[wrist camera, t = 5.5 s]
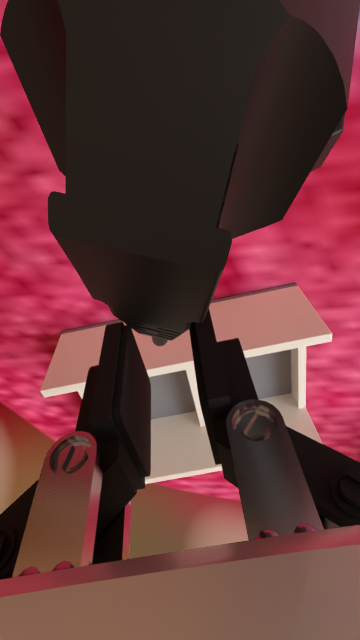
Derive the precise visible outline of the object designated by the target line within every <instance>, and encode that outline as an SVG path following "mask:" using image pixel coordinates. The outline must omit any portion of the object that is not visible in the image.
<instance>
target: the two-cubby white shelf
mask: <svg viewBox="0 0 360 640" xmlns="http://www.w3.org/2000/svg"><path fill="white" fill-rule="evenodd" d="M209 310H210V315H211V319H212V323H213V327H214V332H215V336H216V340H217V342H219V341H224V340H229V339H235V338H239V341H240V343H241V346H242V350H243V353H244V356H245V359H246V362H247V365H248V368H249V371H250V374H251V378H252V381H253V384H254V387H255V390H256V393H257V396H258V399H259V400H262V401H266V402H268V403H270V404H272V405H274V406H275V407H276V408H277V409H278V410H279V411H280V413H281V415H282V417H283V419H284V422H285V425H286V426H287V427H289V428H291V429H293V430H295V431H297V432H299V433H301V434H303V435H305V436H307V437H309V438H311V439H313V440H315V441H317V442H319V443H321V444H323V443H322V441H321V439H320V437H319V435H318V432H317V430H316V428H315V426H314V424H313V422H312V420H311V418H310V416H309V414H308V411H307V409H306V346H310V345H315V344H321V343H326V342H331V341H332V332H331V331H330V330H329V328H328V327H327V325H326V324H325V323H324V321H323V320H322V319H321V317H320V316H319V314H318V313H317V312H316V310H315V309H314V308H313V306H312V305H311V303H310V302H309V301H308V299H307V298H306V296H305V295H304V294H303V292H302V291H301V290H300V288H299V287H298V285H297V284H296V283H293V284H288V285H283V286H278V287H273V288H269V289H264V290H259V291H254V292H249V293H244V294H240V295H235V296H230V297H225V298H220V299H215V300H211V303H210V306H209ZM119 322H122V321H121V320H120V319H119V320H114V321H109V322H104V323H100V324H95V325H90V326H85V327H80V328H75V329H71V330H66V331H62V333H61V336H60V338H59V341H58V344H57V347H56V349H55V352H54V355H53V357H52V360H51V363H50V365H49V368H48V371H47V374H46V376H45V379H44V382H43V384H42V387H41V390H40V392H41V393H42V395H43V396H44V398H45V397H50V396H55V395H60V394H65V393H70V392H75V391H78V393H79V395H80V397H81V398H83V393H84V389H85V384H86V379H87V375H88V371H89V368H90V367H91V366H96V365H99V359H100V354H101V348H102V343H103V338H104V332H105V327H106V325H109V324H114V323H119ZM123 323H124V322H123ZM124 325H126V324H125V323H124ZM131 329H132V328H131ZM132 332H133V335H134V337H135V340H136V343H137V346H138V348H139V351H140V354H141V357H142V360H143V362H144V365H145V368H146V371H147V373H148V376H149V379H150V383H151V474H150V476H149V477H145V484H148V483H153V482H159V481H165V480H170V479H176V478H182V477H187V476H193V475H199V474H204V473H210V472H216V471H221V470H222V465H221V464H218V465H215V462H214V458H213V454H212V450H211V446H210V442H209V438H208V434H207V430H206V426H205V422H204V418H203V414H202V410H201V406H200V401H199V396H198V389H197V382H196V375H195V368H194V361H193V353H192V346H191V339H190V332H189V329H188V330H187V331H186V332H184V333H183V334H181V335H180V336H178V337H177V338H175V339H174V340H171V341H169V340H168V341H167V343H166V344H165V345H163V346H156V345H155V344H154V343H153V341H152V336H148V335H143V334H139V333H137V332H136V331H135V330H134V329H132Z"/></svg>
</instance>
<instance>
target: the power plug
mask: <svg viewBox="0 0 360 640" xmlns="http://www.w3.org/2000/svg"><path fill="white" fill-rule="evenodd" d="M359 6H360V0H8V2H7V5H6V8H5V12H4V16H3V20H2V25H1V33H0V36H1V38H2V40H3V43H4V45H5V47H6V49H7V52H8V54H9V56H10V59H11V61H12V63H13V65H14V68H15V70H16V72H17V75H18V77H19V79H20V81H21V84H22V86H23V88H24V91H25V93H26V95H27V98H28V100H29V102H30V104H31V107H32V109H33V111H34V114H35V116H36V118H37V120H38V123H39V125H40V127H41V130H42V132H43V134H44V136H45V139H46V141H47V143H48V146H49V148H50V150H51V153H52V155H53V157H54V159H55V162H56V164H57V166H58V169H59V171H60V172H62V173H63V174H64V175H65V176H66V194H64V193H59V192H51V193H50V195H49V197H48V224H49V228H50V231H51V232H52V234H53V235H54V237H55V238H56V240H57V242H58V243H59V245H60V246H61V248H62V249H63V251H64V252H65V254H66V255H67V257H68V258H69V260H70V261H71V263H72V265H73V266H74V268H75V269H76V271H77V273H78V274H79V276H80V278H81V279H82V281H83V283H84V284H85V286H86V288H87V289H88V291H89V293H90V295H91V296H92V298H93V299H95V300H99V301H102V302H104V303H105V304H107V305H108V306H109V308H110V310H111V312H112V313H113V315H114V316H116V317H117V318H119V319H120V320H121V321H122V322H124V323H125V324H126V325H128V326H129V327H130V328H132V329H134V330H135V331H136V332H137V333H139V334H143V335H148V336H152V341H153V343H154V344H155V345H156V346H163V345H165V344H166V343H167V341H168V340H169V341H171V340H174V339H175V338H177V337H178V336H180V335H181V334H183V333H184V332H186V331H187V330H188V329H189V328H190V326H191V322H195V323H202V322H203V321H204V318H205V316H206V313H207V311H208V308H209V306H210V303H211V300H212V298H213V295H214V293H215V290H216V288H217V285H218V283H219V280H220V277H221V275H222V272H223V270H224V267H225V265H226V261H227V258H228V254H229V250H230V247H231V243H232V239H233V238H236V237H238V236H241V235H244V234H246V233H249V232H252V231H254V230H257V229H260V228H263V227H266V226H268V225H271V224H273V223H276V222H278V221H280V220H282V219H283V217H284V215H285V214H286V212H287V210H288V209H289V207H290V205H291V204H292V202H293V200H294V198H295V197H296V195H297V193H298V192H299V190H300V188H301V187H302V185H303V183H304V182H305V180H306V178H307V176H308V175H309V173H310V172H311V171H313V170H315V169H317V168H319V167H320V166H321V165H322V164H323V162H324V161H325V159H326V157H327V156H328V154H329V152H330V151H331V149H332V148H333V146H334V144H335V143H336V141H337V140H338V138H339V136H340V135H341V133H342V131H343V126H344V118H345V112H346V110H347V107H348V99H349V90H350V82H351V73H352V65H353V56H354V48H355V39H356V31H357V23H358V14H359Z"/></svg>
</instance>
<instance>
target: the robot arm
mask: <svg viewBox="0 0 360 640" xmlns="http://www.w3.org/2000/svg"><path fill="white" fill-rule="evenodd" d="M189 332H190V339H191V346H192V353H193V361H194V368H195V375H196V382H197V389H198V396H199V401H200V406H201V410H202V414H203V418H204V422H205V426H206V430H207V434H208V438H209V442H210V446H211V450H212V454H213V458H214V462H215V465H218V464H221V465H222V470H223V474H224V478H225V479H226V480H227V481H229V482H230V483H232V484H233V485H235V486H236V487H238V489H239V494H240V499H241V504H242V509H243V513H244V519H245V524H246V529H247V534H248V539H249V541H243V542H236V543H229V544H223V545H217V546H209V547H204V548H197V549H190V550H183V551H178V552H171V553H165V554H159V555H152V556H146V557H139V558H133V559H129V543H130V520H131V502H130V500H131V499H132V498H133V497H134V496H135V495H136V493H137V489H143V488H145V477H149V476H150V474H151V383H150V379H149V376H148V373H147V371H146V368H145V365H144V362H143V360H142V357H141V354H140V351H139V348H138V346H137V343H136V340H135V337H134V335H133V332H132V329H131V328H130V327H129V326H128V325H124V323H123V322H119V323H114V324H109V325H106V327H105V332H104V338H103V343H102V348H101V354H100V359H99V365H96V366H91V367H90V368H89V371H88V375H87V379H86V384H85V389H84V393H83V398H82V403H81V407H80V412H79V416H78V421H77V426H76V430H75V432H72V433H69V434H66V435H65V436H63V437H61V438H60V439H58V440H57V441H56V442H55V443H54V444H53V445H52V446H51V448H50V449H49V450H48V452H47V454H46V457H45V459H44V462H43V466H42V469H41V473H40V477H39V479H38V480H37V481H36V482H35V483H34V484H33V485H32V486H31V487H30V488H29V489H28V490H26V491H25V492H24V493H23V494H22V495H21V496H20V497H19V498H18V499H17V500H16V501H15V502H14V503H12V504H11V505H10V506H9V507H8V508H7V509H6V510H5V511H4V512H3V513H2V514H0V640H360V463H359V462H357V461H355V460H353V459H351V458H349V457H347V456H345V455H343V454H341V453H339V452H337V451H335V450H333V449H331V448H329V447H327V446H325V445H323V444H321V443H319V442H317V441H315V440H313V439H311V438H309V437H307V436H305V435H303V434H301V433H299V432H297V431H295V430H293V429H291V428H289V427H287V426H286V425H285V422H284V419H283V417H282V415H281V413H280V411H279V410H278V409H277V408H276V407H275V406H274V405H272V404H270V403H268V402H266V401H262V400H259V399H258V396H257V393H256V390H255V387H254V384H253V381H252V378H251V374H250V371H249V368H248V365H247V362H246V359H245V356H244V353H243V350H242V346H241V343H240V341H239V338H235V339H229V340H224V341H219V342H217V340H216V336H215V332H214V327H213V323H212V319H211V315H210V310H209V308H208V311H207V313H206V316H205V318H204V321H203V322H202V323H195V322H191V326H190V328H189Z"/></svg>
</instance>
